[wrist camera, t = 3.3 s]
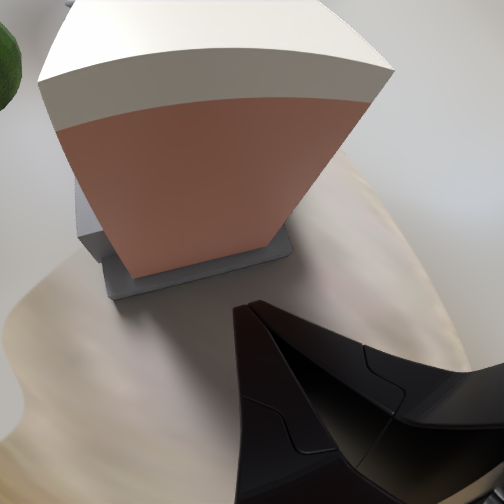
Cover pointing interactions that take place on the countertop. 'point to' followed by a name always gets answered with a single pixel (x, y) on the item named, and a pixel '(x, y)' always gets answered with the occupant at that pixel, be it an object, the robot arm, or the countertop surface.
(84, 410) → the countertop surface
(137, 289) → the housing
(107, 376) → the countertop surface
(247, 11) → the pink white rectangular block
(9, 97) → the avocado
